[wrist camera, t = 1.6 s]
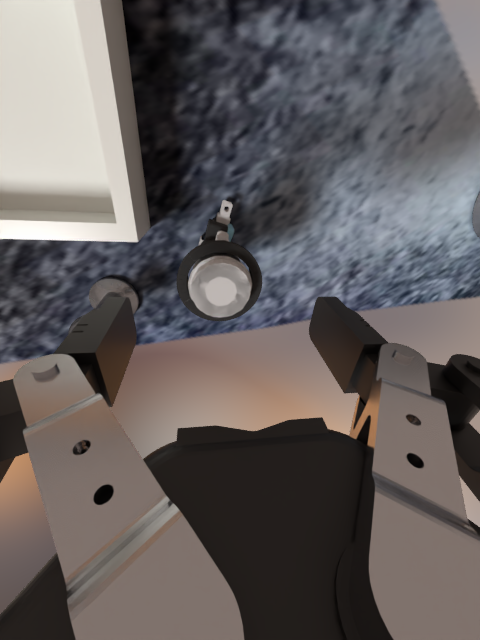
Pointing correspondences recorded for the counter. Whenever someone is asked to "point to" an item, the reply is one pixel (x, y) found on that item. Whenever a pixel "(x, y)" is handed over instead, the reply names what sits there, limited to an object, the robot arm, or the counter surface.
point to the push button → (219, 273)
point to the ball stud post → (110, 294)
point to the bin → (68, 124)
